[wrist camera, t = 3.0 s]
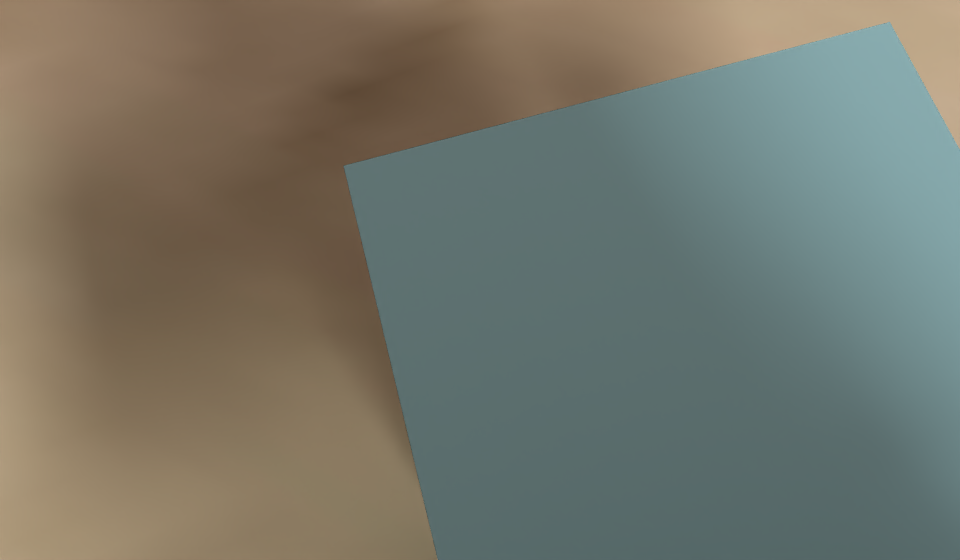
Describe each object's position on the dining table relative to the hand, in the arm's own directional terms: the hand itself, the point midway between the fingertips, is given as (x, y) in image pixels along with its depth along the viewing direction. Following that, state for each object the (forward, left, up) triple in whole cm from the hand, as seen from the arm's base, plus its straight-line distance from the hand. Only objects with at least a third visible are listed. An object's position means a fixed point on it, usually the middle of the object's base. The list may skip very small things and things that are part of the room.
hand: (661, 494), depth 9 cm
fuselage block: (0, +1, -9) cm, 9 cm away
